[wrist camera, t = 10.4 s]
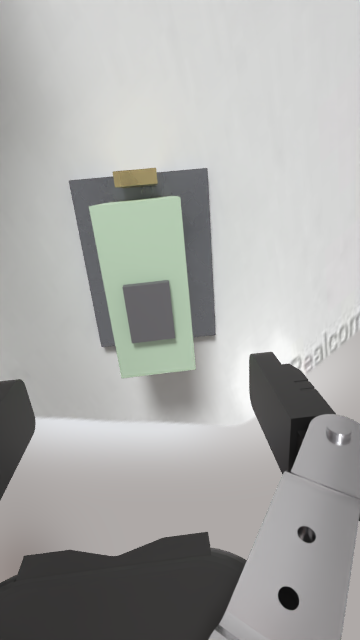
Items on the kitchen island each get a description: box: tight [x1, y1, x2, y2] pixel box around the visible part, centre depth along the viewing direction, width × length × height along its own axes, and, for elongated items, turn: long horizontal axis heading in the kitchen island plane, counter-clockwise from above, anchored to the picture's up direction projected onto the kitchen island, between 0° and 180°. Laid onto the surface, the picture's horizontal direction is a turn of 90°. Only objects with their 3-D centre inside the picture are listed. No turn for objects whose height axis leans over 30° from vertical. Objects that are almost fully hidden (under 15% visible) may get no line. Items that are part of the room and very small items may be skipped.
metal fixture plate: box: [69, 168, 215, 347], centre depth 28 cm, size 16×12×7 cm
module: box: [89, 196, 196, 378], centre depth 24 cm, size 12×6×8 cm, turn 6°
